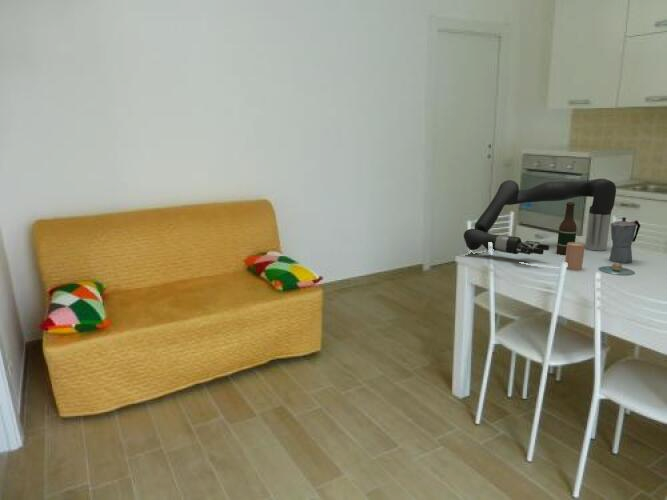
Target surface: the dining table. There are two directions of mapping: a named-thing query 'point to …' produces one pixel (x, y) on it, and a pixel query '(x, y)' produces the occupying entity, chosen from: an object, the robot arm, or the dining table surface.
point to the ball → (616, 266)
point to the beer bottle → (567, 229)
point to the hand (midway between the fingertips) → (546, 249)
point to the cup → (574, 255)
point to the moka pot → (623, 240)
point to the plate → (621, 272)
